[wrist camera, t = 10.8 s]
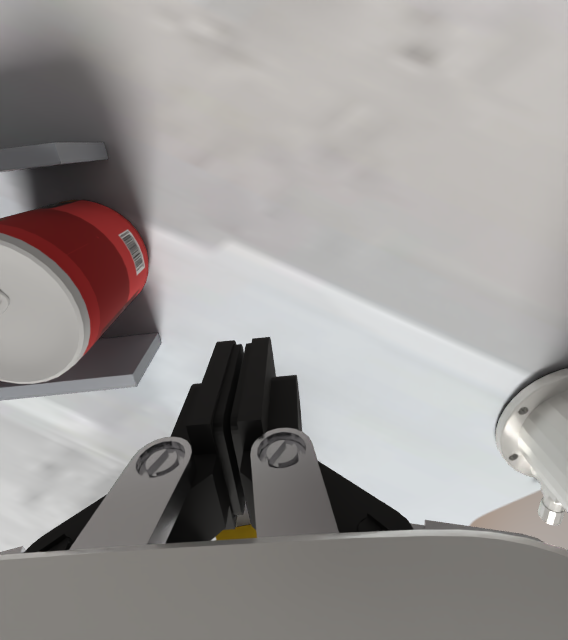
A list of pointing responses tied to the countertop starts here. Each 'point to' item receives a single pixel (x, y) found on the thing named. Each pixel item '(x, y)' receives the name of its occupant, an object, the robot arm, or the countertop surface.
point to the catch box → (106, 354)
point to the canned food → (63, 285)
